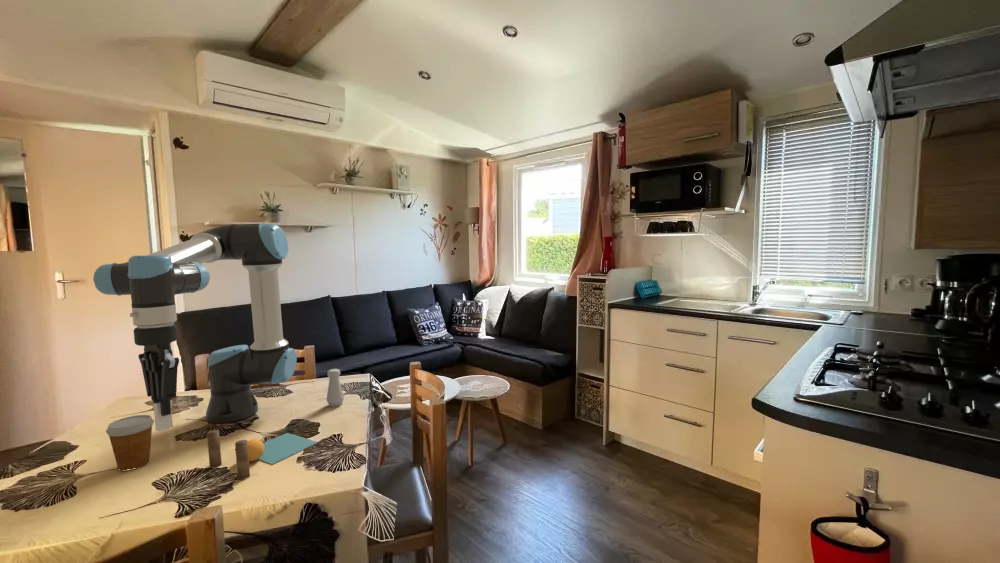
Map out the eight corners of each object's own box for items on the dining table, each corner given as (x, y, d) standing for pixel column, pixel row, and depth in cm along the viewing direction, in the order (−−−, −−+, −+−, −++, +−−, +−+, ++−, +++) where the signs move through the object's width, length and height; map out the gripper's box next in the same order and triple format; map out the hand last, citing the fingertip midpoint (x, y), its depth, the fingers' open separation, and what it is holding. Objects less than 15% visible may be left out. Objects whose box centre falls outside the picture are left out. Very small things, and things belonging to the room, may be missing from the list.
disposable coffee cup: (129, 457, 117) (125, 415, 116) (165, 455, 118) (162, 413, 117) (99, 475, 107) (94, 429, 106) (139, 473, 108) (135, 427, 107)
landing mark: (241, 453, 118) (241, 452, 118) (287, 433, 130) (287, 432, 130) (272, 464, 111) (272, 464, 111) (318, 442, 123) (318, 442, 123)
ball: (233, 446, 112) (252, 433, 116) (240, 463, 114) (259, 449, 118) (245, 451, 109) (264, 437, 114) (252, 468, 111) (271, 454, 116)
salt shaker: (346, 402, 156) (345, 367, 155) (339, 408, 150) (337, 372, 149) (331, 402, 156) (329, 367, 155) (323, 407, 151) (321, 372, 150)
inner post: (207, 466, 111) (205, 433, 110) (218, 461, 113) (215, 429, 113) (213, 468, 110) (210, 435, 109) (223, 464, 112) (221, 431, 111)
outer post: (235, 478, 105) (232, 443, 104) (245, 473, 107) (243, 438, 107) (241, 481, 104) (238, 445, 103) (252, 475, 106) (249, 441, 105)
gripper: (121, 325, 94) (130, 429, 96) (149, 330, 87) (158, 441, 89) (161, 320, 100) (169, 417, 102) (190, 324, 94) (198, 427, 96)
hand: (164, 428), depth 96 cm, fingers closed
